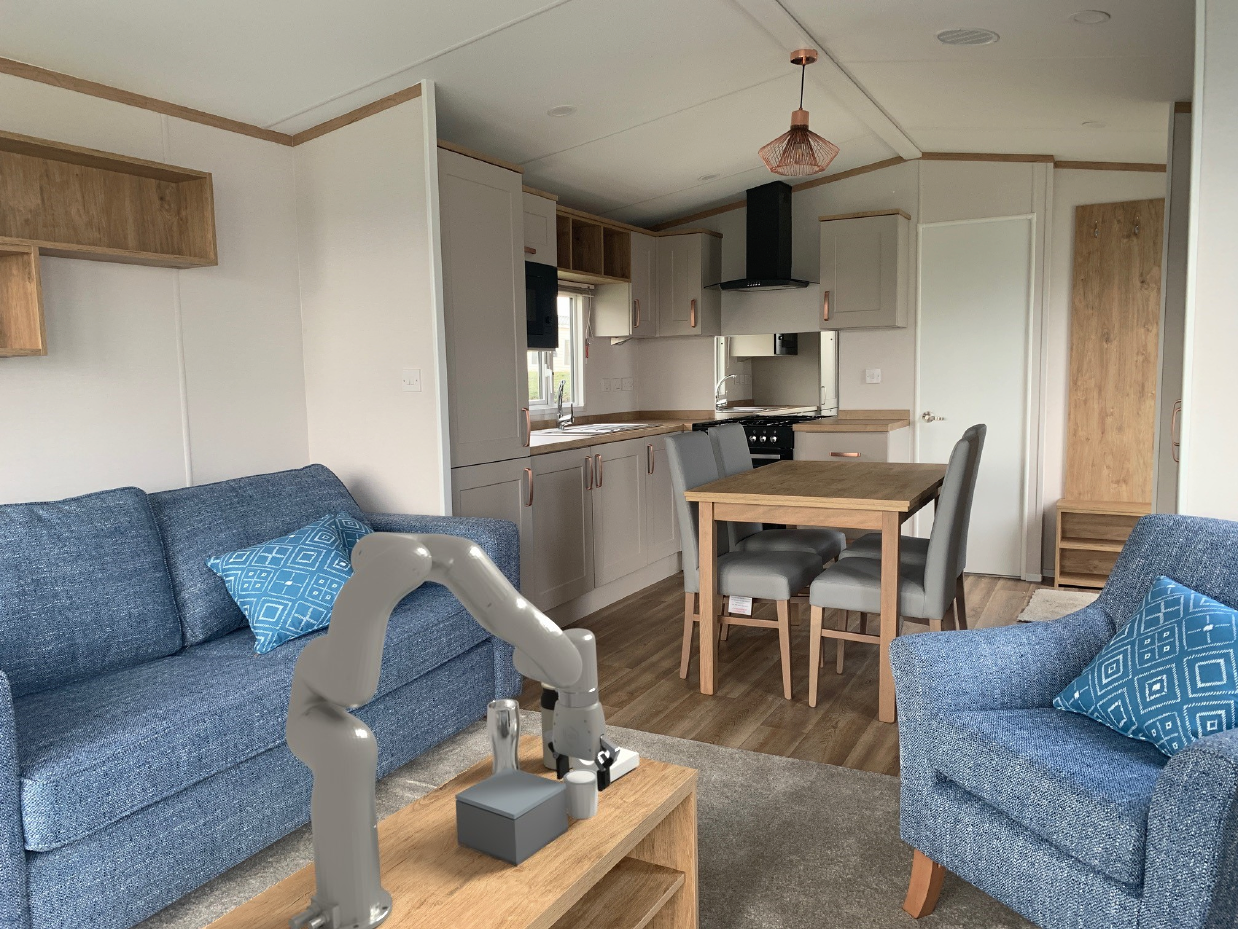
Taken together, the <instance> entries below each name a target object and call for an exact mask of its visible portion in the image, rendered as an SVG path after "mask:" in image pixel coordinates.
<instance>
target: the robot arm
mask: <svg viewBox="0 0 1238 929" xmlns="http://www.w3.org/2000/svg"><path fill="white" fill-rule="evenodd" d="M350 563H351V567H352V570H353V572H354V573H353V574H352V575H351V576H350V577H349V578H348V579H347V581H346V582H345V584H343V586H342V587H341V589H340V591H339V592H338V594H337V596H336V598H335V601H334V603H333V608H332V612H331V615H330V620H329V621H330V622H329V625H328V630H327V634H323V635H320V636H318V637H315V638H313V639H312V640H311V641H309V642H308V643H307V644H306V645H305V647H304V648H303V649H302V650H301V652H300V654H299V656H298V658H297V661H296V663H295V666H294V671H293V677H292V684H291V690H290V695H289V703H288V710H287V716H286V726H285V739H286V743H287V746H288V749H289V750H290V751H291V753H292V754H293V755H294V756H295V758H297V759H298V760H300V762H302V763H303V764H304V765H306V767H307V768H309V770H311V771H312V774H313V786H312V792H311V800H310V818H311V819H310V820H311V828H312V844H313V846H312V847H313V859H314V874H315V875H314V876H315V888H316V889H315V890H316V893H315V894H313V895H311V896H310V899H309V900H310V904H309V905H308V906H306V908H305V910H304V911H302V912H300V913H298V914H296V915H295V916H293V917H291V918H290V919H288V927H289V928H290V929H302V928H303V927H305V926H307V929H375V928H377V927H378V926H380V925H381V924H382V923H383V922H384V921H385V920H386V919H387V918H388V917H389V916H390V914H391V912H392V910H393V896H392V895H391V893H390V892H389V891H388V890H387V889H385V888H383V887H382V879H381V865H380V849H379V848H380V847H379V846H380V845H379V829H378V814H377V812H378V811H377V801H376V774H377V768H378V767H377V766H378V759H379V758H378V757H379V747H378V742H377V738H376V737H375V735H374V732H373V731H372V730H371V728H370V727H369V726H368V725H367V724H366V723H365V722H364V721H362V719H360V718H358V717H356V716H354V715H353V714H351V713H350V712H347V711H346V710H347V709H357V708H360V707H363V706H364V705H366V704H367V703H369V702H370V701H371V700H372V698H374V697H373V696H375V694H376V692H377V688H378V685H379V680H380V673H381V666H382V659H383V653H384V644H385V639H386V631H387V628H388V622H389V619H390V616H391V614H392V612H393V611H394V608H395V607H396V606H397V605H398V603H399V602H400V601H401V600H402V599H403V598H405V597H406V596H407V595H408V594H409V593H411V592H412V591H414V590H416V589H417V588H418V587H420V586H421V585H422V584H423V583H425V582H434V583H436V584H437V583H438V584H441V585H442V586H444V587H446V588H447V589H448V590H449V591H450V592H451V593H452V595H454V597H455V598H456V599H457V600H458V601H459V603H461V605H462V606H464V608H465V609H466V610H467V611H468V613H469V614H470V615H471V616H472V617H473V618H474V620H475V621H476V622H477V623H478V624H479V625H480V626H481V627H482V628H483V629H485V630H486V631H487V632H489V633H490V634H492V635H494V636H495V637H496V638H498V639H499V640H503V641H504V642H506V643H508V644H510V645H512V646H513V647H515V648H514V650H513V653H512V663H513V666H514V667H515V669H516V670H517V672H519V674H521V675H522V676H524V677H526V678H528V679H532V680H533V681H537V682H540V683H541V682H542V683H545V684H547V685H550V686H552V687H555V692H558V696H559V700H557V701H556V703H555V709H554V716H553V729H551V730H548V731H546V732H545V733H544V736H545V738H546V741H547V743H548V747H549V749H550V750H551V752H552V753H553V755H552V756H553V758H554V759H556V779H557V780H558V781H560V780H563V777H564V775H565V774H566V773H568V772H570V771H571V770H570V769H569V757H573V758H577V759H581V760H585V761H594V762H595V764H596V765H597V767H598V768H599V770H598V771H597V789H598V792H601V793H602V792H603V791H604V790H606V789H608V788H609V786H610V785H611V782H610V767H611V766H612V764H613V763H615V762H616V761H617V757H618V755H619V753H620V748H621V747H620V748H619V746H618V745H616V744H615V743H614V742H613V741H612V740H611V739H609V738H608V733H607V726H606V725H607V724H606V719H605V714H604V709H603V705H602V703H601V701H600V700H599V699H600V698H599V685H598V684H599V683H598V666H597V665H598V664H597V663H598V662H597V646H596V645H597V644H596V637H595V636H596V635H595V634H594V633H593V631H591V630H589V629H588V628H587V629H586V628H579V627H578V628H569V629H565V630H562V629H561V628H560V627H559V625H557V624H556V623H555V622H554V621H553V620H551V618H549V617H548V616H547V615H546V614H544V613H543V612H542V611H541V610H539V609H538V607H537V606H535V605H534V604H533V603H532V602H530V600H528V599H527V598H526V597H524V596H523V595H522V594H520V593H519V591H518V590H517V589H516V588H515V587H514V586H513V584H512V583H511V582H510V580H508V578H506V577H507V576H505V575H504V574H503V572H502V570H500V569H499V568H498V566H497V565H496V563H494V561H492V559H491V558H490V557H489V555H488V554H487V553H486V552H485V550H484V549H482V547H481V546H480V545H479V544H478V543H476V542H475V541H473V540H472V539H468V538H465V537H462V536H456V535H455V536H454V535H452V534H451V535H450V534H446V533H445V534H444V533H423V532H422V533H421V532H420V533H418V532H417V533H415V532H414V533H413V532H412V533H411V532H389V531H388V532H386V531H376V532H371V533H368V534H365V535H364V536H361V537H360V538H359V539H358V541H357V542H356V543H355V544H354V546H353V547H352V550H351V554H350ZM607 750H608V751H609V753H610V754H609V756H608V755H607V753H606V752H607ZM600 756H601V758H602V759H603V761H604V763H603V762H602V761H601V759H600Z"/></svg>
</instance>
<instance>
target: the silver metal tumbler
mask: <svg viewBox="0 0 1238 929" xmlns="http://www.w3.org/2000/svg"><path fill="white" fill-rule="evenodd" d="M519 704H520V703H519V701H517V700H516V699H512V698H501V699H495V700H493V701H490V702H488V704H487V706H486V707H487V712H486V714H487V715H486V726H487V727H486V728H487V729H486V730H487V736H488V740H489V744H490V748H491V749H490V750H491V753H492V767H491V776H492V775H494V774H496V773H498V772H500V771H502V770H504V769H506V768H507V767H511V768H514V769H517V770H521V766H520V761H519V747H520V738H521V730H522V728H521V713H520V705H519ZM521 771H522V770H521Z"/></svg>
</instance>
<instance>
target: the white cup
mask: <svg viewBox="0 0 1238 929" xmlns="http://www.w3.org/2000/svg"><path fill="white" fill-rule="evenodd" d="M562 780H563V781H562V783H565V784H566V795H567V816H569V817H570V818H572V819H577V820H586V819H591V818H592V817H594V816H595V815H596V814H597V813H598V802H599V801H598V800H599V791H598V789H597V772H595V771H593V770H587V769H578V770H573V769H572V770H570V772H568V773H566V774H565V775H564V777H563V778H562Z"/></svg>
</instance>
